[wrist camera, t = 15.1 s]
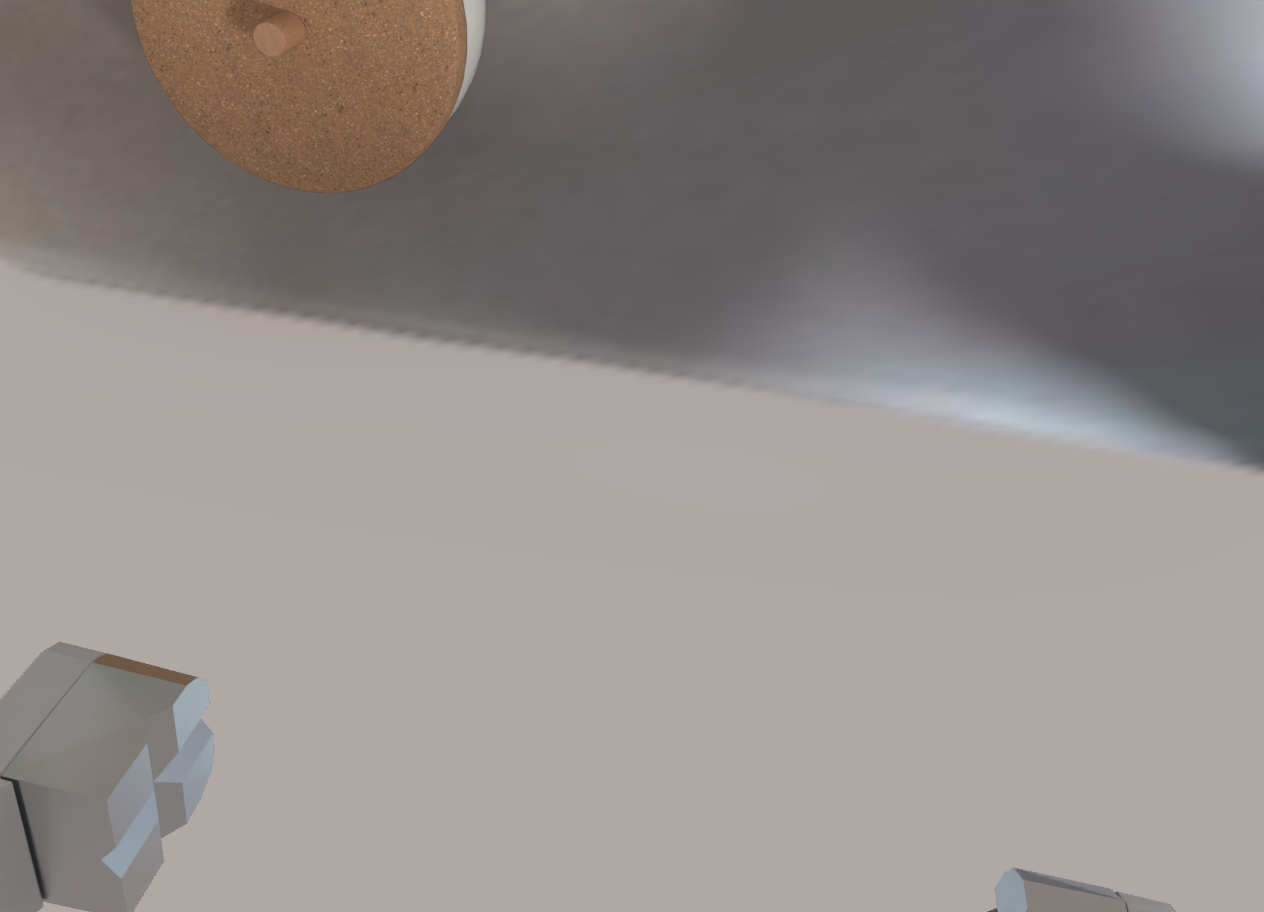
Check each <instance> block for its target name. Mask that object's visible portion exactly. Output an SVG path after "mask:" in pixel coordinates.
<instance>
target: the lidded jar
mask: <svg viewBox="0 0 1264 912" xmlns="http://www.w3.org/2000/svg"><path fill="white" fill-rule="evenodd" d="M130 1H131V7H132V13H133V18H134V23H135V26H136V29H137V33H138V36H139V39H140V42H141V45H142V49H143V51H144V53H145V55H146V58H147V60H148V62H149V64H150V67H151V69H152V71H153V73H154V76H155V77H156V79H157V80H158V82H159V84H160V85H161V87H162V89H163V90H164V92H165V93H166V95H167V97H168V98H169V100H170V101H171V103H172V104H173V105H174V106H175V108H176V109H177V110H178V112H179V113H180V114H181V116H182V117H183V118H184V120H185V121H186V122H187V123H188V124H189V125H190V126H191V127H192V128H193V129H194V130H195V131H196V132H197V133H198V134H199V135H200V136H201V137H202V138H203V139H204V140H205V141H206V142H207V143H208V144H210V145H211V146H212V147H213V148H215V149H216V150H217V151H218V152H220V153H221V154H222V155H223V156H225V157H226V158H227V159H229V160H230V161H232V162H234V163H235V164H237V165H239V166H240V167H242V168H244V169H245V170H247V171H248V172H250V173H252V174H255V175H257V176H259V177H261V178H264V179H266V180H268V181H270V182H273V183H276V184H279V185H283V186H286V187H290V188H293V189H297V190H303V191H311V192H318V193H335V192H348V191H353V190H358V189H363V188H368V187H370V186H373V185H375V184H378V183H380V182H383V181H386V180H388V179H390V178H391V177H393V176H395V175H396V174H398V173H399V172H401V171H403V170H404V169H406V168H407V167H408V166H410V165H411V164H412V163H413V162H414V161H415V160H416V159H417V158H418V157H419V156H420V155H421V154H423V153H424V152H425V151H426V150H427V149H428V148H429V147H430V146H431V144H432V143H433V142H434V140H435V139H436V138H437V136H438V135H439V134H440V132H441V131H442V130H443V128H444V127H445V125H446V123H447V122H448V120H449V119H450V118H451V116H452V115H453V114H454V112H455V111H456V110H457V108H458V107H459V105H460V103H461V101H462V99H463V97H464V95H465V94H466V92H467V90H468V88H469V86H470V84H471V82H472V80H473V78H474V75H475V72H476V69H477V65H478V62H479V59H480V56H481V51H482V45H483V38H484V31H485V24H486V0H130Z"/></svg>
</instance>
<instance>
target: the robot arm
mask: <svg viewBox="0 0 1264 912" xmlns="http://www.w3.org/2000/svg"><path fill="white" fill-rule="evenodd" d="M209 704H210V698H209V691H208V684H207V680H204V679H201V678H198V677H194V676H191V675H187V674H183V673H179V672H175V671H171V670H168V669H164V668H160V667H156V666H152V665H149V664H145V663H141V662H138V661H133V660H130V659H126V658H122V657H119V656H115V655H111V654H107V653H103V652H99V651H95V650H90V649H86V648H82V647H78V646H74V645H70V644H66V643H62V642H58V643H57V644H55V645H53V646H51V647H50V648H48V649H46V650H44V651H43V652H41V653H40V655H39V656H38V657H37V658H36V659H35V660H34V662H33V663H32V664H31V665H30V666H29V667H28V668H27V669H26V671H25V672H24V673H23V674H22V675H21V676H20V678H19V679H18V680H17V681H16V682H15V683H14V684H13V685H12V687H11V688H10V689H9V690H8V691H7V692H6V693H5V694H4V696H3V697H2V698H1V699H0V912H37V911H38V910H40V909H41V908H42V907H43V901H44V902H49V903H53V904H58V905H62V906H67V907H71V908H76V909H81V910H85V911H90V912H133V911H134V910H135V908H136V906H137V905H138V903H139V901H140V900H141V898H142V897H143V895H144V893H145V892H146V890H147V888H148V887H149V885H150V884H151V882H152V880H153V879H154V877H155V875H156V874H157V872H158V870H159V869H160V867H161V865H162V864H163V862H164V858H163V850H162V842H161V838H162V837H164V836H166V835H168V834H169V833H171V832H173V831H175V830H176V829H178V828H180V827H181V826H183V825H185V824H187V822H188V820H189V819H190V817H191V815H192V813H193V812H194V810H195V808H196V806H197V805H198V803H199V801H200V800H201V797H202V794H203V792H204V789H205V786H206V784H207V781H208V778H209V775H210V773H211V769H212V762H213V755H214V740H213V733H212V731H211V730H210V729H209V728H208V727H207V725H206V724H205V723H204V722H203V721H202V719H201V717H202V715H203V713H204V711H205V710H206V709H207V707H208V706H209ZM995 893H996V902H997V908H996V909H993V910H991V911H988V912H1176V911H1175V910H1174V909H1173V907H1172V906H1171V905H1170V904H1167V903H1163V902H1159V901H1155V900H1150V899H1146V898H1142V897H1137V896H1134V895H1129V894H1125V893H1121V892H1113V890H1111V889H1109V888H1104V887H1100V886H1095V885H1090V884H1086V883H1081V882H1077V881H1072V880H1068V879H1063V878H1059V877H1054V876H1050V875H1045V874H1040V873H1036V872H1032V871H1027V870H1023V869H1018V868H1012V869H1010V870H1009V871H1007V872H1005V873H1004V874H1003V876H1002V877H1001V879H1000V881H999V883H998V884H997V886H996V887H995Z"/></svg>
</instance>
